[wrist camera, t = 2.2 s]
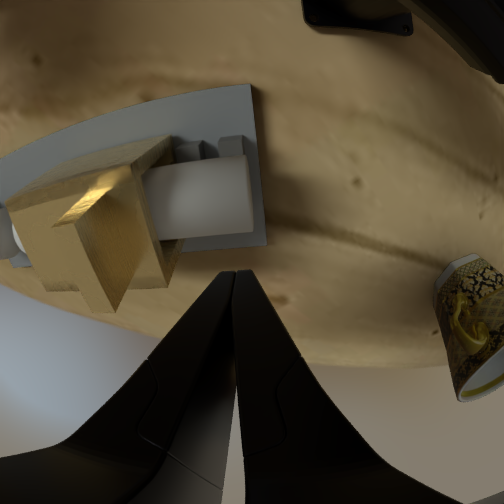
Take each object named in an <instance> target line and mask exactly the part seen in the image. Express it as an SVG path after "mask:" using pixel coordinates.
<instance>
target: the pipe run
mask: <svg viewBox="0 0 504 504" xmlns="http://www.w3.org/2000/svg"><path fill="white" fill-rule="evenodd" d="M167 134H172V139H173V144H174V149H175V154H176V159H177V164H173V165H167V166H161V167H155V168H150V169H147V170H146V171H145V172H144V173H143V174H142V175H141V179H142V183H143V187H144V191H145V194H146V198H147V202H148V205H149V209H150V212H151V216H152V219H153V223H154V226H155V229H156V233H157V236H158V239H159V241H160V240H170V239H180V238H186V240H185V242H184V245H183V247H182V250H181V253H183V252H195V251H207V250H219V249H230V248H243V247H255V246H267V237H266V226H265V216H264V206H263V196H262V186H261V176H260V166H259V157H258V148H257V138H256V129H255V120H254V111H253V102H252V94H251V85H250V84H243V85H234V86H226V87H219V88H213V89H206V90H200V91H195V92H189V93H184V94H179V95H174V96H170V97H165V98H161V99H156V100H152V101H148V102H144V103H141V104H137V105H133V106H130V107H126V108H123V109H119V110H116V111H113V112H110V113H106V114H103V115H100V116H97V117H94V118H91V119H89V120H86V121H83V122H80V123H78V124H75V125H72V126H70V127H67V128H65V129H62V130H60V131H57V132H55V133H53V134H50V135H48V136H46V137H43V138H41V139H39V140H37V141H35V142H32V143H30V144H28V145H26V146H24V147H22V148H20V149H18V150H16V151H14V152H12V153H10V154H8V155H6V156H5V157H3V158H1V159H0V260H1V259H8V258H9V260H10V262H11V264H12V266H13V268H16V267H27V266H32V264H31V262H30V260H29V258H28V256H27V254H26V252H25V250H24V248H23V246H22V243H21V241H20V239H19V237H18V235H17V232H16V230H15V228H14V225H13V223H12V221H11V218H10V216H9V213H8V211H7V208H6V205H5V203H4V201H5V200H7V199H8V198H9V197H11V196H12V195H13V194H15V193H16V192H17V191H19V190H20V189H22V188H23V187H24V186H26V185H27V184H29V183H30V182H32V181H33V180H35V179H36V178H38V177H39V176H41V175H42V174H44V173H45V172H47V171H48V170H50V169H52V168H53V167H55V166H56V165H58V164H60V163H61V162H64V161H67V160H70V159H74V158H77V157H80V156H83V155H86V154H90V153H93V152H97V151H100V150H104V149H107V148H111V147H115V146H119V145H122V144H126V143H131V142H135V141H139V140H143V139H148V138H152V137H157V136H162V135H167Z"/></svg>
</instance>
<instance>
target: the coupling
mask: <svg viewBox="0 0 504 504" xmlns="http://www.w3.org/2000/svg"><path fill="white" fill-rule="evenodd" d="M173 164H177V159H176V154H175V149H174V144H173V139H172V134H167V135H162V136H157V137H152V138H148V139H143V140H139V141H135V142H131V143H126V144H122V145H119V146H115V147H111V148H107V149H104V150H100V151H97V152H93V153H90V154H86V155H83V156H80V157H77V158H74V159H70V160H67V161H64V162H61V163H60V164H58V165H56V166H55V167H53V168H52V169H50V170H48V171H47V172H45V173H44V174H42V175H41V176H39V177H38V178H36V179H35V180H33V181H32V182H30V183H29V184H27V185H26V186H24V187H23V188H22V189H20V190H19V191H17V192H16V193H15V194H13V195H12V196H11V197H9V198H8V199H7V200H5V201H4V203H5V205H6V208H7V211H8V213H9V216H10V218H11V221H12V223H13V225H14V228H15V230H16V232H17V235H18V237H19V239H20V241H21V243H22V246H23V248H24V250H25V252H26V254H27V256H28V258H29V260H30V262H31V264H32V266H33V268H34V270H35V272H36V273H37V275H38V277H39V279H40V281H41V283H42V284H43V286H44V288H45V290H46V291H80V292H81V294H82V296H83V298H84V299H85V301H86V303H87V305H88V306H89V308H90V310H91V312H92V313H116V311H117V308H118V306H119V304H120V302H121V300H122V298H123V296H124V294H125V292H126V290H127V289H152V288H168V285H169V283H170V280H171V277H172V274H173V272H174V269H175V266H176V263H177V261H178V258H179V255H180V253H181V250H182V247H183V245H184V242H185V240H186V238H180V239H170V240H160V241H159V239H158V236H157V233H156V229H155V226H154V223H153V219H152V216H151V212H150V209H149V205H148V202H147V198H146V194H145V191H144V187H143V183H142V179H141V175H142V174H143V173H144V172H145V171H146V170H147V169H150V168H155V167H161V166H167V165H173Z"/></svg>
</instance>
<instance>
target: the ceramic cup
mask: <svg viewBox="0 0 504 504" xmlns="http://www.w3.org/2000/svg"><path fill="white" fill-rule="evenodd" d="M433 306H434V310H435V313H436V316H437V319H438V323H439V326H440V329H441V333H442V337H443V340H444V344H445V347H446V351H447V356H448V362H449V368H450V372H451V377H452V381H453V386H454V390H455V393H456V397H457V400H458V401H460V402H469V401H473V400H476V399H479V398H481V397H484V396H486V395H488V394H489V393H491V392H493V391H495V390H496V389H498V388H499V387H501V386H502V385H504V276H503V275H502V274H501V273H499V272H498V271H497V270H496V269H495V268H493V267H492V266H491V265H490V264H488V263H487V262H486V261H485V260H484V259H482V258H481V257H479V256H478V255H477V254H470V255H468V256H465V257H463V258H460V259H458V260H455V261H453V262H451V263H450V264H449V266H448V267H447V268H446V269H445V271H444V272H443V273H442V274H441V276H440V277H439V278H438V279H437V280H436V282H435V285H434V297H433Z"/></svg>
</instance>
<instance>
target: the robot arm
mask: <svg viewBox="0 0 504 504" xmlns="http://www.w3.org/2000/svg"><path fill="white" fill-rule="evenodd" d="M301 4H302V11H303V18H304V21H305V23H306V24H307V25H309V26H312V27H331V28H347V29H358V30H367V31H375V32H382V33H388V34H394V35H400V36H410V35H412V34H413V23H412V16H411V12H413V13H414V14H415V15H417V16H418V17H419V18H420V19H422V20H423V21H424V22H425V23H426V24H427V25H429V26H430V27H431V28H432V29H433V30H434V31H435V32H436V33H438V34H439V35H440V36H441V37H442V38H443V39H444V40H445V41H446V42H447V43H448V44H449V45H450V46H451V47H452V48H453V49H454V50H455V51H456V52H457V53H458V54H459V55H460V56H461V57H462V58H463V59H464V60H465V61H466V62H467V64H468V65H469V66H470V67H472V68H474V69H476V70H478V71H481V72H483V73H485V74H487V75H491V76H492V78H493V79H494V80H495V81H496V82H497V83H499V84H504V0H301ZM310 15H314V16H316V17H317V21H316V22H313V21H311V20H310V18H309V16H310ZM402 26H405V27H406V29H407V32H405V31H404V30H403V28H402ZM147 359H148V360H145V361H144V362H143V363H142V364H141V365H140V367H139V368H138V369H137V370H136V371H135V372H134V373H133V375H132V376H131V377H130V378H129V379H128V380H127V381H126V383H125V384H124V385H123V386H122V387H121V388H120V389H119V390H118V391H117V392H116V393H115V394H114V395H113V396H112V397H111V398H110V399H109V400H108V401H107V402H106V403H105V404H104V405H103V406H102V407H101V408H100V409H99V410H98V411H97V412H96V413H94V414H93V415H92V416H91V417H90V418H89V419H88V420H87V421H86V422H85V423H84V424H83V425H82V426H81V427H80V428H79V429H78V430H77V431H76V432H75V433H73V434H72V435H71V436H70V437H68V438H67V439H65V440H64V441H62V442H60V443H58V444H56V445H54V446H51V447H47V448H43V449H39V450H35V451H31V452H26V453H22V454H17V455H12V456H7V457H1V458H0V504H221V501H222V493H223V491H222V490H223V485H224V478H225V470H226V463H227V455H228V447H229V440H230V431H231V424H232V417H233V409H234V401H235V393H236V386H237V396H238V407H239V418H240V429H241V440H242V451H243V457H244V472H245V504H463V503H460V502H459V501H456V500H454V499H452V498H450V497H448V496H446V495H444V494H442V493H440V492H438V491H436V490H434V489H432V488H430V487H428V486H426V485H424V484H423V483H421V482H419V481H417V480H415V479H413V478H412V477H410V476H408V475H406V474H404V473H403V472H401V471H399V470H397V469H396V468H394V467H393V466H391V465H390V464H389V463H387V462H386V461H385V460H384V459H383V458H382V457H380V456H379V455H378V454H377V453H376V452H375V451H374V450H373V449H372V448H371V447H370V446H369V444H368V443H367V442H366V441H365V440H364V438H363V437H362V436H361V435H360V434H359V432H358V431H357V430H356V429H355V428H354V427H353V425H351V423H350V422H349V421H348V420H347V418H346V417H345V416H344V415H343V414H342V412H341V411H340V410H339V409H338V408H337V406H335V404H334V403H333V401H332V400H331V399H330V397H329V396H328V395H327V394H326V392H325V391H324V389H323V388H322V387H321V385H320V384H319V382H318V381H317V379H316V378H315V376H314V375H313V373H312V371H311V370H310V368H309V367H308V365H307V363H306V362H305V360H304V358H303V357H301V353H300V352H299V350H298V348H297V347H296V345H295V343H294V341H293V340H292V338H291V336H290V335H289V333H288V331H287V329H286V328H285V326H284V324H283V323H282V321H281V319H280V317H279V316H278V314H277V312H276V311H275V309H274V307H273V305H272V304H271V302H270V300H269V299H268V297H267V295H266V293H265V292H264V290H263V288H262V286H261V285H260V283H259V281H258V279H257V278H256V276H255V274H254V273H253V271H252V270H250V269H249V270H238V271H237V272H235V271H222V272H220V273H219V274H218V275H217V276H216V277H215V278H214V280H213V281H212V282H211V283H210V284H209V285H208V287H207V288H206V289H205V290H204V291H203V292H202V294H201V295H200V296H199V297H198V298H197V299H196V301H195V302H194V303H193V304H192V305H191V306H190V308H189V309H188V310H187V311H186V312H185V313H184V315H183V316H182V317H181V318H180V319H179V321H178V322H177V323H176V324H175V325H174V326H173V328H172V329H171V330H170V331H169V332H168V334H167V335H166V336H165V337H164V338H163V339H162V341H161V342H160V343H159V344H158V345H157V347H156V348H155V349H154V350H153V351H152V353H151V354H150V355H149V356H148V358H147ZM470 504H504V491H502V492H500V493H498V494H495V495H492V496H490V497H487V498H484V499H482V500H479V501H476V502H473V503H470Z"/></svg>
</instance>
